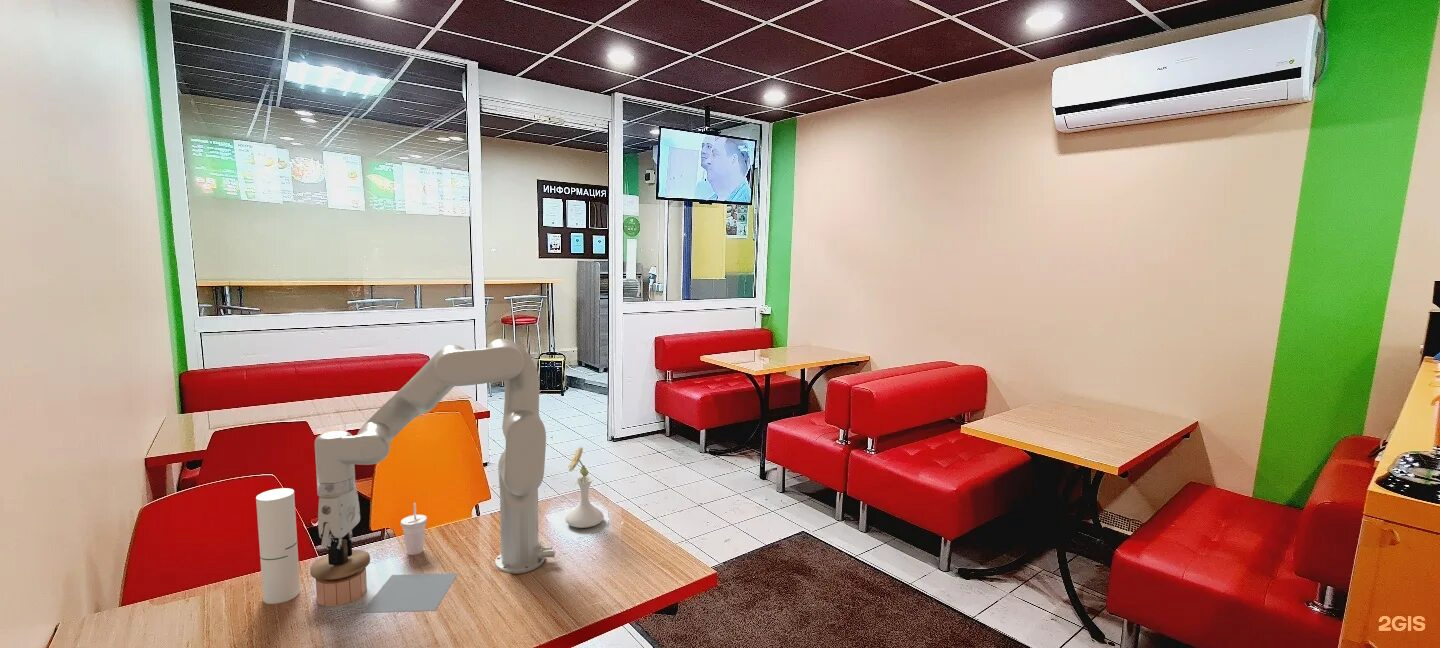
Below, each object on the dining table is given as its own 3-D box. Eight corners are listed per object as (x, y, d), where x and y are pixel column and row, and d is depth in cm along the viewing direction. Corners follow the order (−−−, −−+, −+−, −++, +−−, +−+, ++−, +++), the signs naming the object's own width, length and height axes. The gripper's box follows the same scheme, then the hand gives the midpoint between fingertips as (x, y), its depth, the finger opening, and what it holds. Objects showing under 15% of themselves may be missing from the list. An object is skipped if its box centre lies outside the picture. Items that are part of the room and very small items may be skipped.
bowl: (374, 583, 151) (373, 560, 150) (354, 607, 141) (352, 583, 140) (331, 585, 150) (329, 561, 149) (307, 608, 140) (306, 584, 139)
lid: (378, 552, 151) (377, 529, 150) (355, 579, 139) (354, 554, 139) (327, 554, 150) (325, 531, 149) (299, 580, 138) (297, 555, 137)
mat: (458, 575, 156) (458, 573, 156) (435, 612, 140) (435, 610, 140) (392, 577, 154) (392, 574, 154) (361, 615, 138) (361, 612, 138)
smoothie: (433, 548, 169) (431, 500, 167) (419, 560, 163) (417, 509, 161) (411, 546, 170) (409, 498, 168) (396, 558, 163) (394, 508, 162)
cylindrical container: (307, 590, 147) (301, 490, 144) (277, 606, 141) (270, 502, 138) (286, 584, 150) (279, 486, 146) (255, 600, 143) (248, 497, 140)
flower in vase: (572, 513, 193) (572, 436, 190) (608, 516, 192) (608, 439, 189) (557, 532, 180) (557, 450, 177) (595, 535, 179) (595, 452, 176)
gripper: (335, 499, 134) (339, 578, 137) (370, 472, 151) (373, 543, 153) (298, 499, 134) (303, 579, 136) (337, 472, 150) (341, 543, 152)
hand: (340, 559), depth 144 cm, fingers closed on lid, 3 cm apart
